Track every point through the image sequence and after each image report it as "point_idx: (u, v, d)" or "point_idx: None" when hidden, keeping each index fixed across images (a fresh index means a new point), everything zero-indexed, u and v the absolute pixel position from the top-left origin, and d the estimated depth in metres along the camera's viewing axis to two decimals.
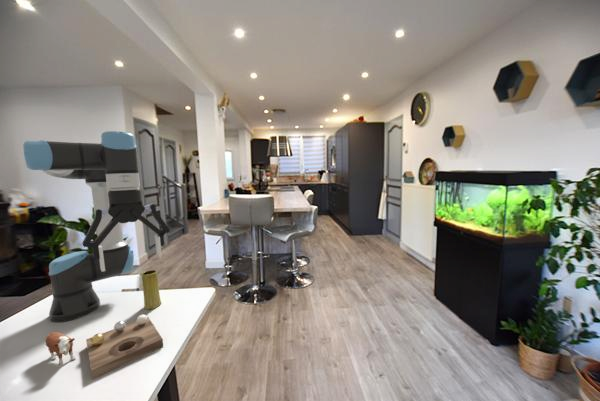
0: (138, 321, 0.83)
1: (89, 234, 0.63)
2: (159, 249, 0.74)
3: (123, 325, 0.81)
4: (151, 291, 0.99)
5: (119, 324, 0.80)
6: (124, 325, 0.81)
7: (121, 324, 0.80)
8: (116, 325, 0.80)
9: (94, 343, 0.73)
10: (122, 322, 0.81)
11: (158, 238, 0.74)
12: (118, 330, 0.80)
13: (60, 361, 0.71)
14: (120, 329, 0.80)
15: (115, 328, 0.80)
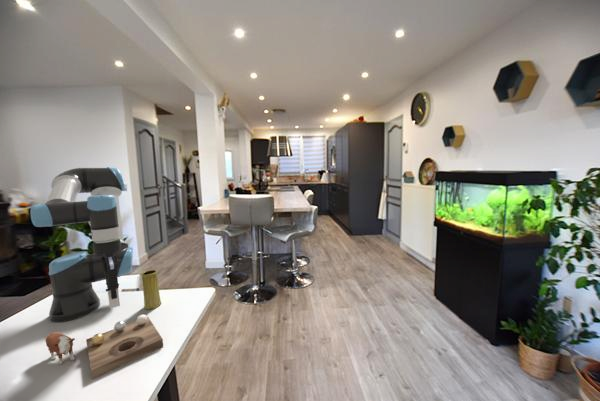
0: (138, 321, 0.83)
1: (105, 276, 0.87)
2: (109, 300, 0.85)
3: (123, 325, 0.81)
4: (151, 291, 0.99)
5: (119, 324, 0.80)
6: (124, 325, 0.81)
7: (121, 324, 0.80)
8: (116, 325, 0.80)
9: (94, 343, 0.73)
10: (122, 322, 0.81)
11: (108, 291, 0.84)
12: (118, 330, 0.80)
13: (60, 361, 0.71)
14: (120, 329, 0.80)
15: (115, 328, 0.80)
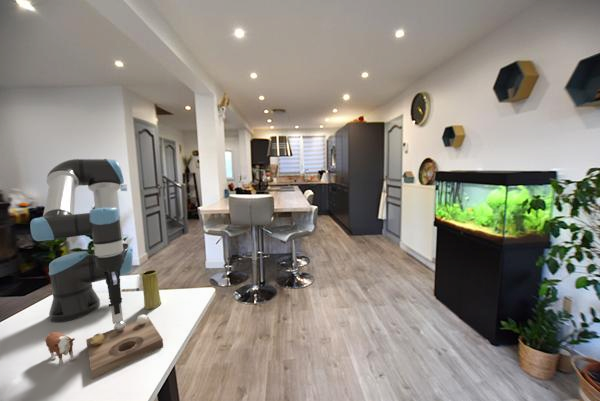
0: (138, 321, 0.83)
1: (108, 290, 0.85)
2: (112, 316, 0.82)
3: (123, 325, 0.81)
4: (151, 291, 0.99)
5: (119, 324, 0.80)
6: (124, 325, 0.81)
7: (121, 324, 0.80)
8: (116, 325, 0.80)
9: (94, 343, 0.73)
10: (122, 322, 0.81)
11: (111, 306, 0.82)
12: (118, 330, 0.80)
13: (60, 361, 0.71)
14: (120, 329, 0.80)
15: (115, 328, 0.80)
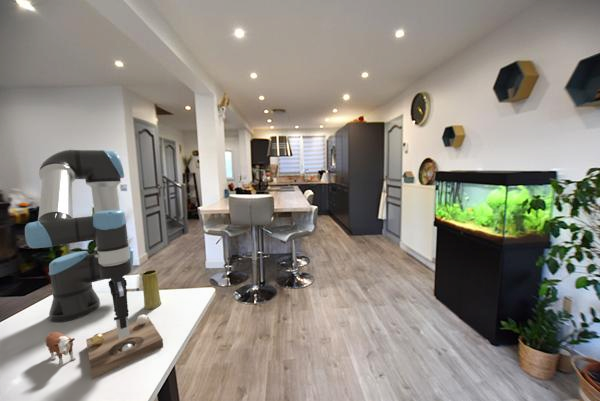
0: (138, 321, 0.83)
1: (113, 301, 0.77)
2: (117, 330, 0.74)
3: None
4: (151, 291, 0.99)
5: None
6: None
7: None
8: None
9: (94, 343, 0.73)
10: None
11: (116, 320, 0.74)
12: None
13: (60, 361, 0.71)
14: None
15: None
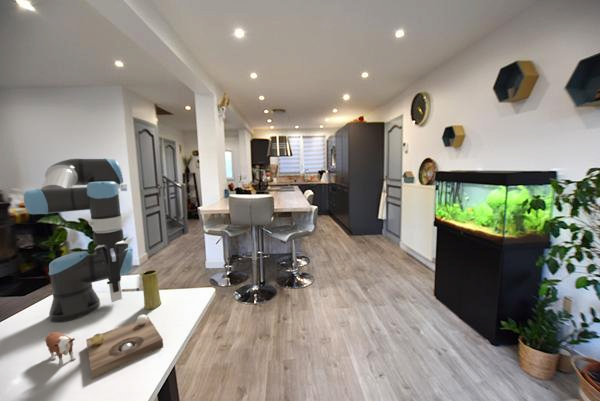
0: (138, 321, 0.83)
1: (106, 267, 0.82)
2: (110, 294, 0.80)
3: None
4: (151, 291, 0.99)
5: None
6: None
7: None
8: None
9: (94, 343, 0.73)
10: None
11: (109, 284, 0.79)
12: None
13: (60, 361, 0.71)
14: None
15: None
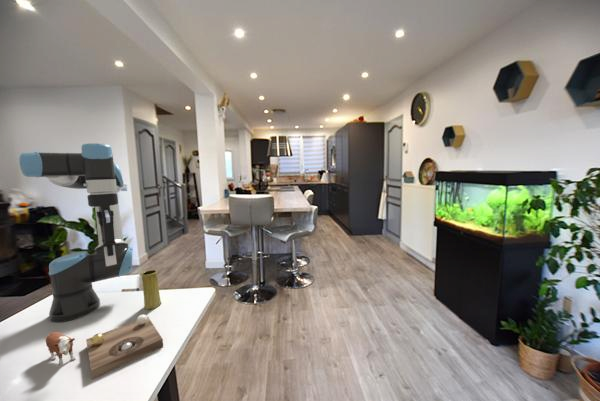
0: (138, 321, 0.83)
1: (101, 233, 0.82)
2: (105, 258, 0.80)
3: None
4: (151, 291, 0.99)
5: None
6: None
7: None
8: None
9: (94, 343, 0.73)
10: (130, 348, 0.73)
11: (104, 248, 0.79)
12: None
13: (60, 361, 0.71)
14: None
15: None
